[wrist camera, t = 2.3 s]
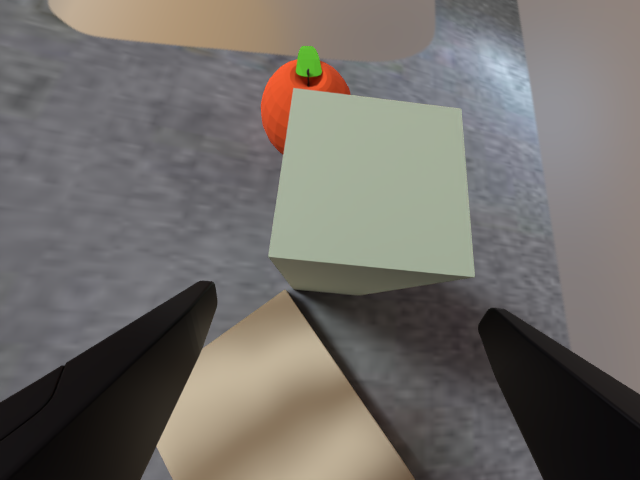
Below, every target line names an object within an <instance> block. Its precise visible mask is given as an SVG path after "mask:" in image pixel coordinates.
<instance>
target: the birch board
mask: <svg viewBox="0 0 640 480" xmlns="http://www.w3.org/2000/svg"><path fill="white" fill-rule="evenodd" d="M157 448H158V450H159V452H160V454H161V456H162V458H163V460H164V462H165V464H166V466H167V468H168V470H169V472H170V474H171V476H172V478H173V480H415V478H414V477H413V475H412V474H411V472H410V470H409V469H408V467H407V466H406V464H405V463H404V461H403V460H402V459H401V457H400V456H399V454H398V453H397V451H396V450H395V448H394V447H393V445H392V444H391V442H390V441H389V440H388V438H387V437H386V435H385V434H384V432H383V431H382V429H381V428H380V426H379V425H378V423H377V422H376V421H375V419H374V418H373V416H372V415H371V413H370V412H369V410H368V409H367V407H366V406H365V404H364V403H363V402H362V400H361V399H360V397H359V396H358V394H357V393H356V391H355V390H354V388H353V387H352V385H351V384H350V383H349V381H348V380H347V378H346V377H345V375H344V374H343V372H342V371H341V369H340V368H339V366H338V365H337V364H336V362H335V361H334V359H333V358H332V356H331V355H330V353H329V352H328V350H327V349H326V347H325V346H324V345H323V343H322V342H321V340H320V339H319V337H318V336H317V334H316V333H315V331H314V330H313V328H312V327H311V326H310V324H309V323H308V321H307V320H306V318H305V317H304V315H303V314H302V312H301V311H300V309H299V308H298V307H297V305H296V304H295V302H294V301H293V299H292V298H291V296H290V295H289V293H288V292H287V291H286V290H284V291H282V292H281V293H279V294H278V295H277V296H275V297H274V298H272V299H271V300H270V301H268V302H267V303H266V304H264V305H263V306H261V307H260V308H259V309H257V310H256V311H254V312H253V313H252V314H250V315H249V316H247V317H246V318H245V319H243V320H242V321H240V322H239V323H238V324H236V325H235V326H233V327H232V328H231V329H229V330H228V331H226V332H225V333H224V334H222V335H221V336H220V337H218V338H217V339H215V340H214V341H213V342H211V343H210V344H208V345H207V346H206V347H204V348H203V349H202V350H201V353H200V355H199V358H198V360H197V362H196V364H195V366H194V368H193V370H192V372H191V375H190V377H189V379H188V381H187V383H186V385H185V387H184V389H183V391H182V393H181V396H180V398H179V400H178V402H177V404H176V406H175V408H174V410H173V412H172V414H171V417H170V419H169V421H168V423H167V425H166V427H165V429H164V431H163V433H162V435H161V438H160V440H159V442H158V444H157Z"/></svg>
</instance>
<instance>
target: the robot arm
mask: <svg viewBox="0 0 640 480" xmlns="http://www.w3.org/2000/svg"><path fill="white" fill-rule="evenodd" d="M216 308H217V294H216V287H215V284H214V282H212V281H199V282H197V283H195V284H194V285H192V286H191V287H189V288H187V289H186V290H184V291H182V292H181V293H179V294H177V295H176V296H174V297H173V298H171V299H169V300H168V301H166V302H164V303H163V304H161V305H160V306H158V307H156V308H155V309H153V310H151V311H150V312H148V313H147V314H145V315H143V316H142V317H140V318H138V319H137V320H135V321H134V322H132V323H130V324H129V325H127V326H125V327H124V328H122V329H120V330H119V331H117V332H116V333H114V334H112V335H111V336H109V337H107V338H106V339H104V340H103V341H101V342H99V343H98V344H96V345H94V346H93V347H91V348H90V349H88V350H86V351H85V352H83V353H81V354H80V355H78V356H77V357H75V358H73V359H72V360H70V361H68V362H67V363H66V364H65V366H60V367H58V368H57V369H55V370H54V371H52V372H50V373H49V374H47V375H45V376H44V377H42V378H40V379H39V380H37V381H35V382H34V383H32V384H30V385H29V386H27V387H25V388H24V389H22V390H20V391H19V392H17V393H15V394H14V395H12V396H10V397H9V398H7V399H5V400H4V401H2V402H0V480H140V479H141V477H142V475H143V473H144V471H145V469H146V467H147V465H148V463H149V461H150V459H151V456H152V454H153V452H154V450H155V448H156V446H157V444H158V442H159V440H160V438H161V435H162V433H163V431H164V429H165V427H166V425H167V423H168V421H169V419H170V417H171V414H172V412H173V410H174V408H175V406H176V404H177V402H178V400H179V398H180V396H181V393H182V391H183V389H184V387H185V385H186V383H187V381H188V379H189V377H190V375H191V372H192V370H193V368H194V366H195V364H196V362H197V360H198V358H199V355H200V353H201V350H202V348H203V345H204V342H205V339H206V336H207V334H208V331H209V328H210V325H211V322H212V319H213V316H214V314H215V311H216ZM478 331H479V334H480V337H481V340H482V342H483V345H484V348H485V350H486V353H487V356H488V359H489V361H490V364H491V367H492V370H493V372H494V375H495V377H496V380H497V382H498V384H499V386H500V388H501V391H502V393H503V395H504V397H505V399H506V401H507V403H508V405H509V408H510V410H511V412H512V414H513V416H514V418H515V420H516V422H517V425H518V427H519V429H520V431H521V433H522V435H523V437H524V439H525V442H526V444H527V446H528V448H529V450H530V452H531V454H532V456H533V459H534V461H535V463H536V465H537V467H538V469H539V471H540V473H541V476H542V478H543V480H640V394H638V393H636V392H635V391H633V390H632V389H630V388H628V387H627V386H626V385H624V384H622V383H621V382H619V381H617V380H616V379H614V378H613V377H611V376H610V375H608V374H607V373H605V372H603V371H602V370H600V369H599V368H597V367H595V366H594V365H592V364H591V363H589V362H588V361H586V360H584V359H583V358H581V357H580V356H578V355H577V354H575V353H573V352H572V351H570V350H569V349H567V348H565V347H564V346H562V345H561V344H559V343H558V342H556V341H554V340H553V339H551V338H550V337H548V336H546V335H545V334H543V333H542V332H540V331H539V330H537V329H535V328H534V327H532V326H531V325H529V324H528V323H526V322H524V321H523V320H521V319H520V318H518V317H516V316H515V315H513V314H512V313H510V312H509V311H507V310H505V309H501V308H490V309H488V311H487V312H486V314H485V315H484V317H483V318H482V320H481V321H480V323H479V325H478Z"/></svg>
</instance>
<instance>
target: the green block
mask: <svg viewBox="0 0 640 480" xmlns="http://www.w3.org/2000/svg"><path fill="white" fill-rule="evenodd" d="M268 257H269V258H270V260H271V261H272V262H273V264H274V265H275V266H276V267H277V269H278V270H279V271H280V273H281V274H282V275H283V276H284V278H285V279H286V280H287V282H288V283H289V284H290V286H291V287H292V288H293V289H294V290H305V291H315V292H326V293H337V294H347V295H358V296H359V295H366V294H372V293H378V292H385V291H391V290H397V289H403V288H410V287H416V286H422V285H429V284H435V283H441V282H448V281H454V280H460V279H467V278H473V277H475V274H474V261H473V249H472V237H471V224H470V212H469V199H468V187H467V175H466V162H465V150H464V137H463V125H462V113H461V109H459V108H451V107H443V106H435V105H427V104H419V103H411V102H403V101H395V100H387V99H379V98H371V97H362V96H354V95H346V94H338V93H330V92H322V91H314V90H306V89H298V88H293V94H292V100H291V107H290V114H289V121H288V127H287V134H286V141H285V147H284V154H283V161H282V168H281V174H280V181H279V188H278V194H277V201H276V208H275V215H274V221H273V228H272V235H271V241H270V248H269V255H268Z"/></svg>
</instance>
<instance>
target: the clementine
mask: <svg viewBox="0 0 640 480" xmlns="http://www.w3.org/2000/svg"><path fill="white" fill-rule="evenodd" d="M293 88H298V89H306V90H314V91H322V92H330V93H338V94H346V95H351V94H350V91H349V87H348V86H347V84H346V82H345V81H344V79H343V78H342V77H341V75H340V74H339V73H338V72H337V71H336V70H335V69H334V68H333V67H331V66H330V65H328V64H326V63H324V62H322V61H320V60H319V56H318V53H317V51H316V49H315V48H314V47H312V46H302V47H301V48H300V51H299V53H298V59H297V60H294V61H290V62H288V63H286V64H284V65H283V66H281V67H280V68H279V69H278V70H277V71H276V72H275V73H274V74H273V76H272V77H271V78H270V79H269V81H268V83H267V85H266V87H265V90H264V93H263V97H262V102H261V116H262V123H263V127H264V129H265V131H266V134H267V136H268V138H269V140H270V142H271V143H272V144H273V145H274V146H275V148H276V149H277V150H278V151H279V152H280V153H282V154H284V147H285V141H286V134H287V127H288V121H289V114H290V107H291V100H292V94H293Z"/></svg>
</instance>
